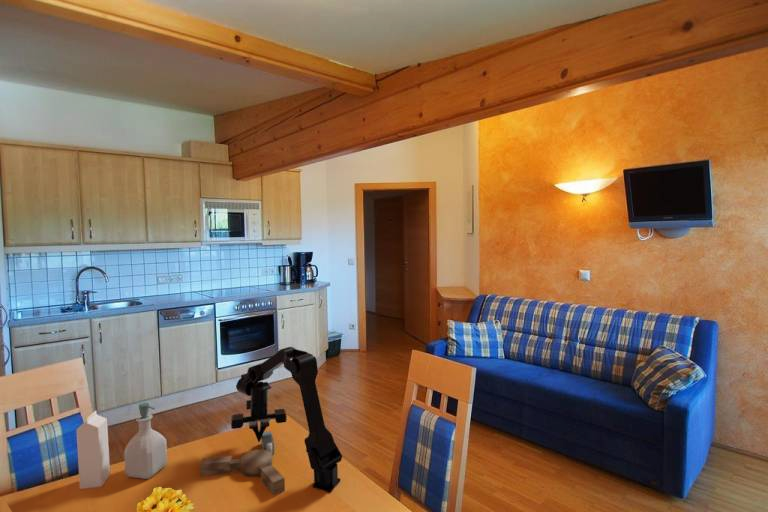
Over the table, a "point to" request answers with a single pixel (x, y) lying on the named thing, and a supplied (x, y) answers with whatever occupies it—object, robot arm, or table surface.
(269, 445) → the grey long block
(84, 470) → the milk
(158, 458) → the soap bottle
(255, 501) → the table surface
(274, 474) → the wooden three-arm spinner
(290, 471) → the table surface
